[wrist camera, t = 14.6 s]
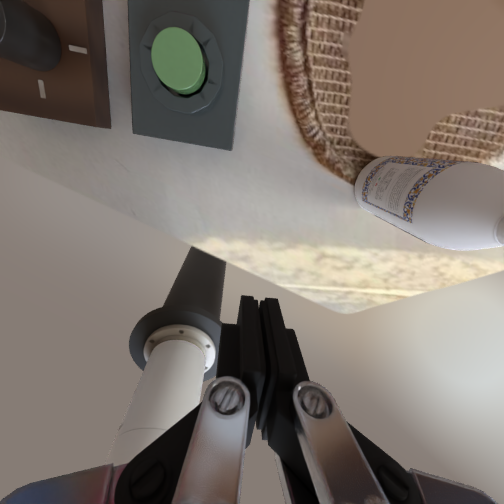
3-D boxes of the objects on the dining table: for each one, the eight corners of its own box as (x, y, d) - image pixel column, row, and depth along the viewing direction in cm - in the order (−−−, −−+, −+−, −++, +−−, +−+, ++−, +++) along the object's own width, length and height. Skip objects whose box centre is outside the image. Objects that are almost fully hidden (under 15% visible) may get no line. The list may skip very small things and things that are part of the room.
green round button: (204, 98, 22) (200, 94, 20) (158, 89, 21) (151, 84, 19) (207, 43, 20) (204, 32, 18) (159, 32, 19) (150, 20, 18)
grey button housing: (232, 150, 28) (231, 151, 23) (144, 134, 27) (124, 132, 22) (248, 16, 23) (250, -15, 18) (141, -10, 22) (115, -50, 17)
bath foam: (416, 187, 30) (676, 252, 12) (368, 221, 32) (537, 323, 14) (392, 142, 28) (671, 139, 10) (342, 182, 30) (503, 241, 12)
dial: (37, -4, 19) (-39, -59, 14) (72, 60, 21) (16, 31, 16) (-7, 19, 20) (-97, -27, 14) (30, 79, 22) (-37, 58, 16)
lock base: (111, 128, 26) (95, 127, 23) (22, 113, 25) (-6, 109, 22) (101, -19, 21) (79, -45, 18) (-10, -46, 20) (-51, -77, 17)
